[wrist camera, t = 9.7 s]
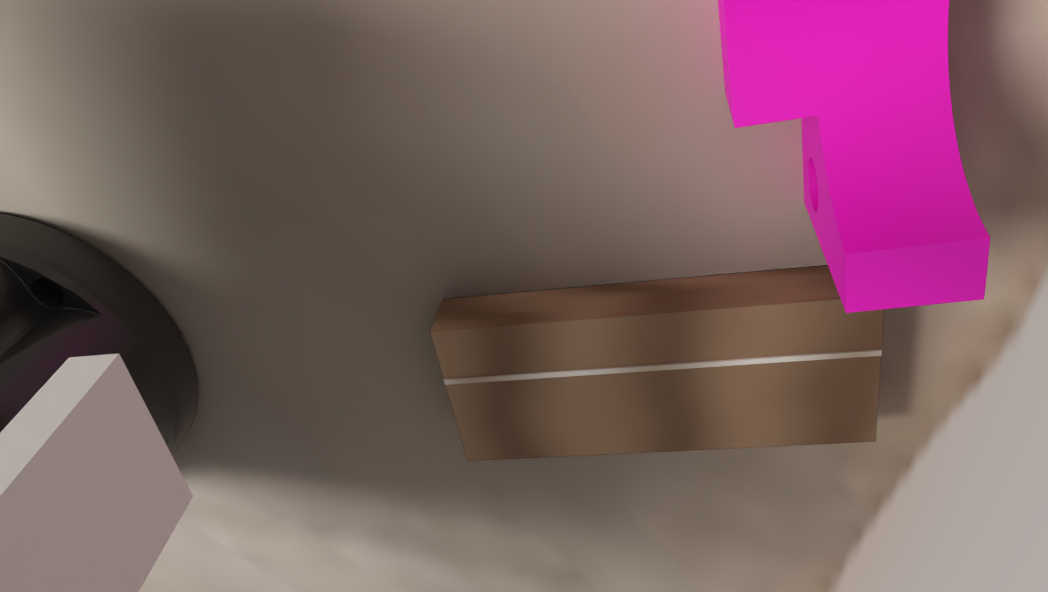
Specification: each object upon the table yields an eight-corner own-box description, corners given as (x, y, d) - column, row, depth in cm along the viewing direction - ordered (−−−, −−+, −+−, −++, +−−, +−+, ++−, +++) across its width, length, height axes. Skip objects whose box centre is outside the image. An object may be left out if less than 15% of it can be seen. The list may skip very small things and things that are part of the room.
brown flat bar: (476, 424, 38) (467, 462, 36) (442, 299, 35) (429, 333, 32) (862, 402, 35) (876, 442, 33) (869, 261, 31) (885, 296, 29)
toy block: (696, -260, 23) (717, -268, 17) (933, -319, 22) (1049, -351, 16) (734, 208, 31) (758, 321, 25) (911, 186, 30) (984, 298, 23)
